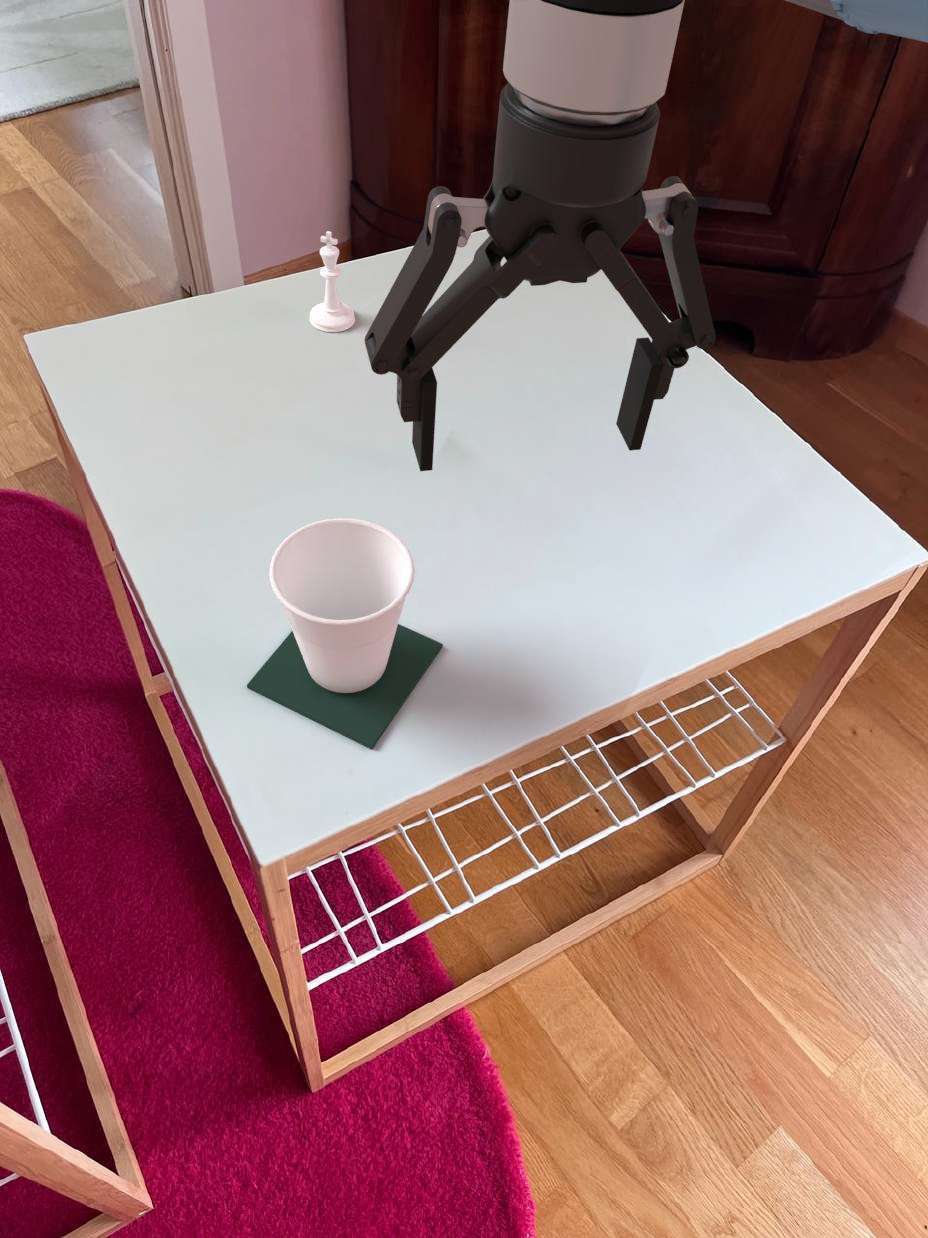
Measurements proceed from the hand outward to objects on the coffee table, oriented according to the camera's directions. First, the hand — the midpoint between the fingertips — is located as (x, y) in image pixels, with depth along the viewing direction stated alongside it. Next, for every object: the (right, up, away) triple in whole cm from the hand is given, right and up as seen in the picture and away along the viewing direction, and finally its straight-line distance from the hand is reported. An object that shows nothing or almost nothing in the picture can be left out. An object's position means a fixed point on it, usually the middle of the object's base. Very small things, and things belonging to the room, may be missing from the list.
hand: (527, 446), depth 60 cm
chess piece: (-18, +22, +43) cm, 52 cm away
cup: (-13, -15, +13) cm, 24 cm away
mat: (-13, -15, +14) cm, 24 cm away
